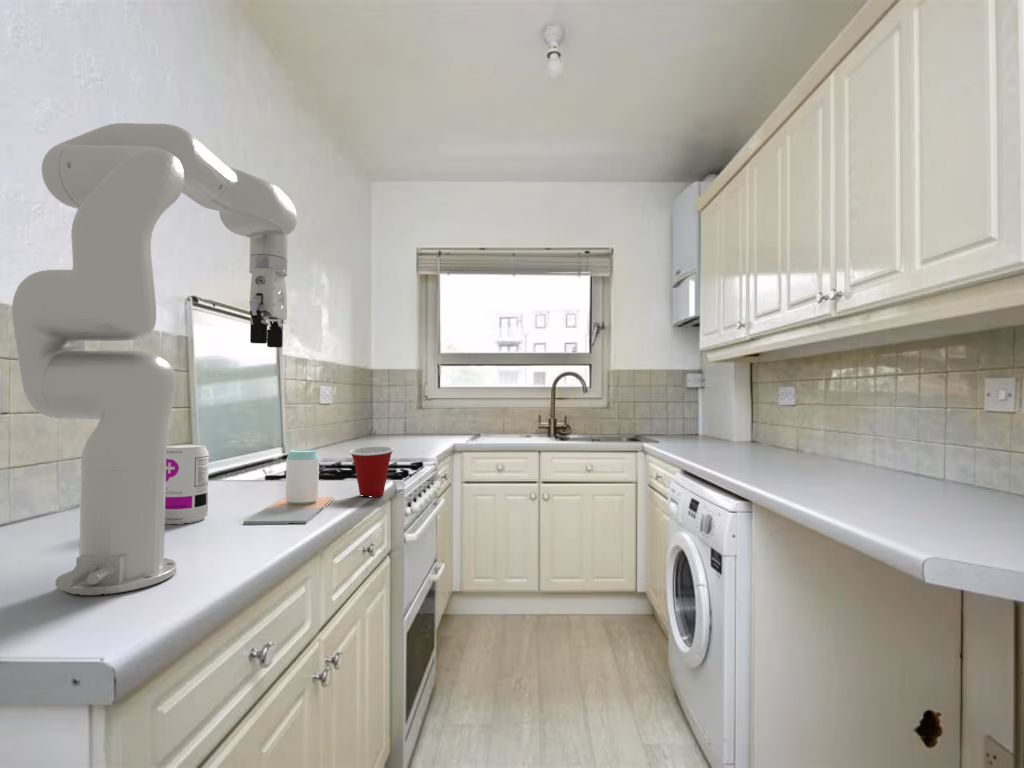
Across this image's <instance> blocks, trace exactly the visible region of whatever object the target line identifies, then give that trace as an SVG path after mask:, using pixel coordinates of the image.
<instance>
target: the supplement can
mask: <svg viewBox="0 0 1024 768" xmlns="http://www.w3.org/2000/svg"><path fill="white" fill-rule="evenodd" d="M209 454H210V453H209V450H208V449H207V448H206V445H205V444H198V443H197V444H192V443H191V444H174V445H173V444H172V445H167V447H166V490H165V525H170V524H178V525H185V524H184V523H189V524H194V523H198V522H201V521H203V520H204V519H205V518H206V517H207V516H208V502H209V466H210V465H209V464H210V463H209V462H210V455H209ZM197 521H198V522H197ZM193 522H194V523H193Z"/></svg>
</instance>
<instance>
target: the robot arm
mask: <svg viewBox="0 0 1024 768" xmlns="http://www.w3.org/2000/svg"><path fill="white" fill-rule="evenodd" d="M41 175H42V180H43V183H44V185H45V187H46V188H47V190H48V191H49V193H50V194H51V195H52V196H53V197H54V198H55V199H56V200H57V201H59V202H60V203H62V204H64V205H66V206H67V207H71V208H74V209H77V211H76V213H75V215H74V217H73V221H72V224H71V226H72V227H71V250H72V252H71V253H72V254H71V255H72V268H71V269H45V270H40V271H36V272H33V273H31V274H29V275H28V276H26V277H24V279H23V280H22V281H21V282H19V284H18V286H17V288H16V290H15V293H14V294H13V298H12V305H11V314H12V325H13V330H14V337H15V338H14V339H15V345H16V351H17V359H18V365H19V373H20V378H21V384H22V387H23V388H22V389H23V391H24V395H25V397H26V399H27V401H28V402H29V404H30V406H31V407H32V408H33V409H34V410H35V412H37V413H39V414H41V415H43V416H46V417H48V418H53V419H66V420H67V419H68V420H69V419H71V420H72V419H73V420H76V419H78V420H81V419H82V420H87V419H88V420H100V421H99V422H98V423H97V425H96V427H95V428H94V430H93V431H92V432H91V434H90V435H89V437H88V438H87V440H86V442H85V444H84V447H83V449H82V452H81V453H82V454H81V460H80V461H81V465H80V469H81V474H80V475H81V477H80V508H79V509H80V514H79V515H80V517H79V547H78V548H79V551H78V553H79V554H78V556H77V557H76V559H75V560H76V563H75V567H74V568H73V569H71V570H69V571H67V572H64V573H63V574H60V575H59V576H57V578H56V579H55V586H56V588H57V589H59V590H60V591H65V592H66V593H68V594H71V595H76V594H80V595H79V596H100V595H101V594H104V595H112V594H119V593H125V592H131V591H135V590H139V589H143V588H146V587H151V586H153V585H156V584H159V583H162V582H164V581H166V580H168V579H169V578H171V577H173V576H174V575H175V574H176V573H177V562H175V560H173V559H171V558H165V529H166V528H165V527H166V526H165V525H166V524H165V490H166V447H167V446H168V443H167V442H168V430H169V423H170V418H171V413H172V410H173V409H172V408H173V405H174V401H175V398H176V396H175V395H176V392H177V376H176V373H175V370H174V369H173V366H171V364H170V363H169V362H168V361H167V360H165V359H164V358H162V357H161V356H159V355H156V354H154V353H150V352H145V351H139V350H106V349H105V350H103V349H99V350H86V349H85V347H86V346H85V341H87V342H88V341H89V342H92V341H93V342H95V341H97V342H98V341H99V342H101V341H102V342H106V341H107V342H114V341H115V342H118V341H119V342H122V341H123V342H125V341H128V342H129V341H136V340H140V339H143V338H146V337H147V336H149V335H150V334H151V333H152V332H153V331H154V329H155V326H156V323H157V305H156V304H157V301H156V292H155V282H154V271H153V262H152V245H151V244H152V243H151V242H152V236H153V231H154V228H155V226H156V224H157V223H158V220H159V219H160V218H161V217H162V215H163V214H164V213H165V212H166V211H167V210H168V209H169V208H170V207H172V205H173V204H175V203H176V201H178V199H179V198H180V196H181V195H182V194H183V195H185V196H186V197H188V198H189V199H190V200H192V201H194V202H195V203H196V204H198V205H199V206H201V207H204V208H206V209H209V210H213V211H216V212H218V214H219V217H220V221H221V222H222V224H223V226H224V227H225V228H226V229H227V230H229V231H230V232H232V233H233V234H236V235H239V236H243V237H246V238H249V270H248V272H249V274H250V275H251V281H250V282H251V283H250V290H249V291H250V293H249V314H250V319H249V322H250V334H249V336H250V339H249V342H250V343H251V344H266V346H267V347H268V348H282V347H283V342H284V341H283V338H284V337H283V331H284V321H286V320H287V318H288V303H287V302H288V301H287V300H288V299H287V298H288V297H287V285H286V278H285V277H288V252H289V251H288V247H289V246H288V245H289V244H288V243H289V242H288V239H289V234H292V232H294V231H295V229H296V227H297V223H298V216H297V211H296V208H295V205H294V204H293V203H292V201H291V200H290V198H289V197H288V196H287V195H286V194H285V193H284V192H283V191H282V190H281V189H280V188H279V187H278V186H277V185H275V184H273V183H271V182H270V181H267V180H265V179H263V178H260V177H257V176H254V175H252V174H250V173H247V172H245V171H242V170H239V169H237V168H234V167H230V166H228V165H227V164H225V162H223V161H222V160H221V159H220V158H219V157H218V156H216V155H215V154H214V153H213V152H212V151H211V150H209V148H208V147H206V146H205V145H204V144H203V143H201V142H200V140H198V139H197V137H195V136H194V135H193V134H192V133H190V132H189V131H188V130H186V129H184V128H182V127H180V126H177V125H174V124H169V123H168V124H167V123H143V122H142V123H140V122H139V123H135V122H133V123H132V122H128V123H127V122H125V123H124V122H119V123H118V122H117V123H112V124H111V123H109V124H106V125H103V126H100V127H98V128H95V129H92V130H90V131H87V132H84V133H82V134H80V135H78V136H75V137H72V138H70V139H67V140H65V141H62V142H60V143H58V144H55V145H54V146H52V147H51V148H50V149H49V150H48V151H47V153H46V154H45V155H44V157H43V159H42V163H41ZM266 322H267V323H266ZM101 596H102V595H101Z"/></svg>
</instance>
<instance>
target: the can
mask: <svg viewBox="0 0 1024 768" xmlns="http://www.w3.org/2000/svg"><path fill="white" fill-rule="evenodd" d="M285 462H286V466H285V471H286V472H285V497H284V498H285V501H286V502H288V503H289V504H292V505H306V504H312V503H314V502H315V501H316V500H318V497H319V479H320V478H319V477H320V474H319V473H320V456H319V455H318V453H317V450H316V449H291V450H289V454H288V455H287V457H286V461H285Z"/></svg>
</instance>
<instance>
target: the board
mask: <svg viewBox="0 0 1024 768" xmlns="http://www.w3.org/2000/svg"><path fill="white" fill-rule="evenodd" d="M332 499H334V500H335V496H327V497H326V496H325V497H322V496H318V500H316V501H315V502H314V503H312V504H306V505H292V504H289V503H288V502H286V501H285V497H282V498H281V499H278V500H277V501H275V502H273V503H272V504H270V505H268V506H267V507H265V508H263V509H261V510H260V511H258V512H257V513H255V514H254V515H252V516H250V517H248V518H247V519H245V520H243V521H242V522H243V523H242V524H243V525H289V524H290V523H306V524H308V523H309V522H310V521H311V520H312V519H313V518H315V517H316V516H317V515H318V514H319V513H320V512H321V511H320V510H321V509H322V508H323V507H324V506H326V505H327V504H328V503H329V502H330V501H331V500H332ZM327 506H328V505H327ZM327 506H326V507H327ZM319 511H320V512H319ZM318 512H319V513H318ZM317 513H318V514H317ZM316 514H317V515H316ZM315 515H316V516H315ZM314 516H315V517H314ZM312 517H313V518H312ZM311 518H312V519H311ZM310 519H311V520H310ZM309 520H310V521H309ZM308 521H309V522H308ZM307 522H308V523H307ZM288 523H289V524H288ZM290 525H291V524H290Z"/></svg>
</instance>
